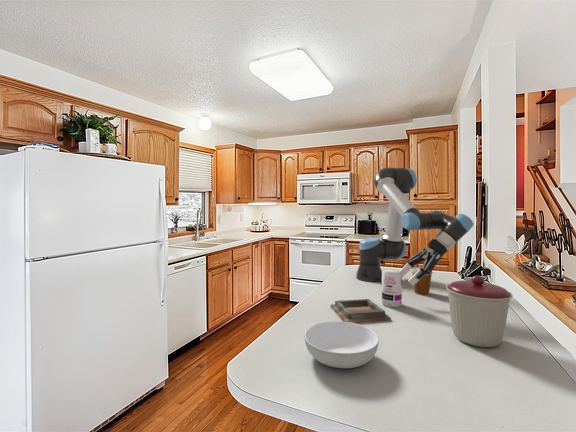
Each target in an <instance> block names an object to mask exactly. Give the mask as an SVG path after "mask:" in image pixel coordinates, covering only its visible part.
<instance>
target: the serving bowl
mask: <svg viewBox="0 0 576 432" xmlns="http://www.w3.org/2000/svg"><path fill="white" fill-rule="evenodd" d="M303 337H304V342H305V346H306V349H307V351H308V352H309V354H310V355H311V356H312V358H314V359H315V360H316V361H318V362H319V363H321V364H323V365H326V366H328V367H332V368H338V369H352V368H358V367H361V366H363V365H366V364H367V363H369V362H370V361H371V360H372V359H373V358H374V356H375V355H376V353H377V351H378V347H379V342H380V341H379V340H380V339H379V338H380V337H378V335H377V333H376V332H375V331H374V330H373V329H371V328H369V327H367V326H365V325H362V324H360V323H351V322H344V321H343V320H336V321H335V320H330V321H324V322H319V323H316V324H314V325H311V326H310V327H308V328H306V330H305V332H304V335H303Z"/></svg>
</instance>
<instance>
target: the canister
mask: <svg viewBox="0 0 576 432" xmlns="http://www.w3.org/2000/svg"><path fill="white" fill-rule="evenodd" d="M445 289H446V290H447V295H448V303H449V313H450V314H449V315H450V321H451V322H450V323H451V329H452V332H453V335H454V336H455V337H456V338H457V339H458V340H460V341H461V342H463V343H466V344H467V345H470V346H474V347H479V348H495V347H497V346H499V345H500V344H501V343H502V341H503V339H504V334H505V330H506V324H507V319H508V313H509V308H510V307H509V305H510V300H511V299H512V298H513V296H514V295H513V293H511V292H510V291H508V290H507V289H506V288H504V287H502V286H499V285H497V284H493V283H490V282H489V283H488V282H485V278H484V277H482V276H481V275H473V276H472V277H471V280H458V281H457V280H455V281H452V282H451V283H449V284H446V285H445Z"/></svg>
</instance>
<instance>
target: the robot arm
mask: <svg viewBox="0 0 576 432" xmlns="http://www.w3.org/2000/svg"><path fill="white" fill-rule="evenodd" d="M417 182H418V177H417V174H416V173H415V171H414V170H413V169H412V168H408V167H384V168H381V169H379V170H378V171H377V172H376V173H375V175H374V178H373V183H374V184H373V185H374V188H375V189H376V190H377V191H378V193H381V194H382V195H383V196H384V197H385V198H386V199H387V201H388V202H389V205H388V211H387V213H388V214H387V218H386V219H387V220H386V228H385V234H382V238H379V237H367V238H363V239H361V240H360V241H359V247H358V249H359V252H358V253H359V255H358V256H359V259H358V260H359V263H358V267H357V271H356V274H355V275H356V276H355V277H356V279H357V280H359V281H364V282H382V273H383V271H382V268H381V261H394V260H400V259H402V258H403V257H404V256H405V255H406V252H407V246H406V245H407V244H406V242H405V241H404V238H403V237H402V231H403V229H404V230H407V231H423V230H424V231H425V230H427V231H428V230H430V231H431V230H439V232H438V233H437V234H436V235H435V236H434V237H433V238H432V239H431V240H430V241H429V242H427V244H426V245H427V247H428V248H427V249H426V248H425V247H424V248H422V249H421V250H420V251H418V252H417V253H416V254H414V255H413V256H412V257H410V258H408V259H407V260H406V261H407V263H406V264H405V265H404V266H402V268H401V269H399V270H400V272H401V274H402V278H404V277H405V275H407V274H408V273H409V272H410V271H411V270H412V268H413V267H414V266H417V265H418V264H420V263H422V262H423V264H422V266H421V267H422V268H420V270H421V271H420V270H418V271H417V272H416V273H415V274H414V275H413V274H412V276H411V277H410V278H409V279H408V280H407V282H408V283H409V284H410V285H411V286H413V287H414V285H415V284H416V283H417V282H418V281H419V280H420V279H421V278H422V277H423V276H424V275H426V274H428V275H429V274H430V273H431V272H433V270H434V268H435V267H436V265H437V264H438V262H439V261H440V260H441V259H442V257H443V256H444V255H445V254H446V253H447V252H448V250H450V249H451V248H454V245H456V244H457V243H458V242H459V241H460V240H461V239H462V238H463V237H464V236H465V235H466V234H467V233H468V232H469V231H470V230H471V229H472V228H473V227H474V226H475V225H474V224H475V223H474V221H473V219H471V218H470V217H469V216H467V215H466V214H464V213H458V214H457V215H455V216H452V215H450V214H448V213H445V212H443V211H440V210H432V211H430V212H421V211H420V210H419V209H418V208H417V207H416V205H414V204H413V202H411V200H410V199H409V198H408V196H409V195H410V194H411V190H413V189H415V187H416V186H417Z"/></svg>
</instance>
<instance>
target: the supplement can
mask: <svg viewBox="0 0 576 432" xmlns="http://www.w3.org/2000/svg"><path fill="white" fill-rule="evenodd" d="M400 270H401V269H395V268H385V269H383V271H382V280H381V303H382V305H383V306H385V307H388V308H399V307H401V306H402V304H403V303H402V302H403V301H402V300H403V299H402V296H403V294H402V293H403V291H402V290H403V286H402V285H403V277H402V274H401V272H400Z"/></svg>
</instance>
